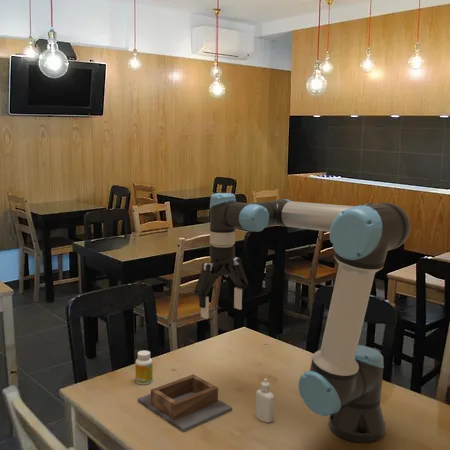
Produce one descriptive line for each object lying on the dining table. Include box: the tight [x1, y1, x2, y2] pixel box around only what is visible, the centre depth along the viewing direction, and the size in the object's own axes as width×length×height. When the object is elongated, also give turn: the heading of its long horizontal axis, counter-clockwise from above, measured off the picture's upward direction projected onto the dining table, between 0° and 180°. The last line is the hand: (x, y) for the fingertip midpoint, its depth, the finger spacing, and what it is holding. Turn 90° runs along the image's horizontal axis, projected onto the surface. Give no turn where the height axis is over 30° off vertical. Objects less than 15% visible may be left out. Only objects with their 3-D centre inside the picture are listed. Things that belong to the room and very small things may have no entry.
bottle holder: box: [137, 373, 233, 433], centre depth 163 cm, size 22×18×6 cm
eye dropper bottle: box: [254, 378, 275, 424], centre depth 157 cm, size 4×6×12 cm
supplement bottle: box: [135, 349, 153, 385], centre depth 178 cm, size 5×5×10 cm
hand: (221, 313), depth 170 cm, fingers open, 13 cm apart
